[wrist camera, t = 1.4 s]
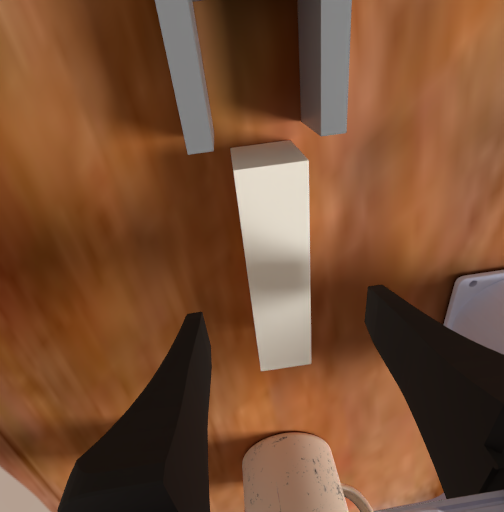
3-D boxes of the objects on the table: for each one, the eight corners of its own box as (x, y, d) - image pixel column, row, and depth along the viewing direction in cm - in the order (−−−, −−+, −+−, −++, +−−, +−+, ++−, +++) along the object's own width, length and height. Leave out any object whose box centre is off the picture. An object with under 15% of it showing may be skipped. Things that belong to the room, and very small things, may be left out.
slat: (289, 139, 16) (308, 160, 13) (297, 317, 23) (311, 363, 19) (229, 146, 16) (233, 170, 13) (254, 323, 22) (261, 371, 19)
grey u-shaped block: (322, -56, 12) (355, -92, 9) (321, 118, 16) (346, 132, 13) (159, -35, 12) (140, -65, 9) (193, 136, 15) (187, 154, 12)
